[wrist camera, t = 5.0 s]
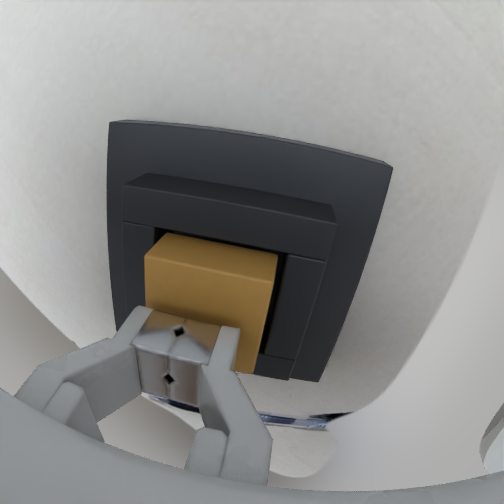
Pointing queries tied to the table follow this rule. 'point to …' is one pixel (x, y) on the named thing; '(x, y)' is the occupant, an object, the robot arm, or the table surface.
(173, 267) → the tan square block
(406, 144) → the table surface
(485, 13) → the table surface
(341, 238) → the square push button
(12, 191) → the table surface
